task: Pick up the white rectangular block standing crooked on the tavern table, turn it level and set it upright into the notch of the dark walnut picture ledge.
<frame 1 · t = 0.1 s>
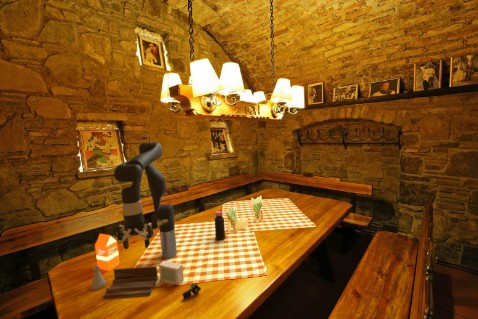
hand: (137, 247, 98), 29 cm above the table, fingers open, 8 cm apart
flask: (98, 286, 119), on the table
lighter: (192, 296, 109), on the table
bottle: (220, 238, 165), on the table
picture ledge: (132, 288, 116), on the table
orange juice: (109, 266, 137), on the table
white rectangular block: (172, 280, 121), on the table
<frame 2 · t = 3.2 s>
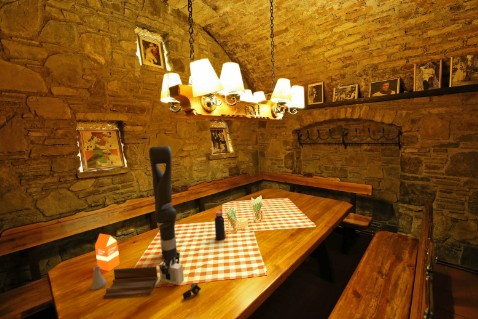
hand: (171, 276, 120), 2 cm above the table, fingers closed on white rectangular block, 4 cm apart
white rectangular block: (172, 280, 121), on the table, touching gripper
everything else where it was.
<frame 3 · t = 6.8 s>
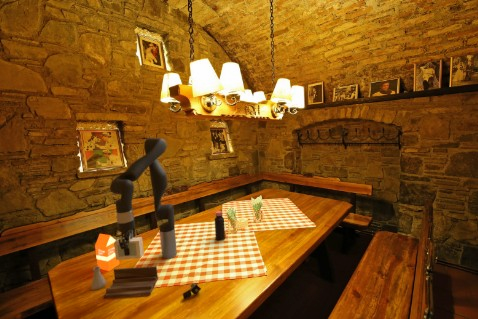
hand: (129, 252, 114), 19 cm above the table, fingers closed on white rectangular block, 4 cm apart
white rectangular block: (130, 256, 114), point 17 cm above the table, touching gripper
everything else where it was.
when the fingers open (5 cm above the table, at t = 10.0 s): white rectangular block stays where it is, resting on picture ledge.
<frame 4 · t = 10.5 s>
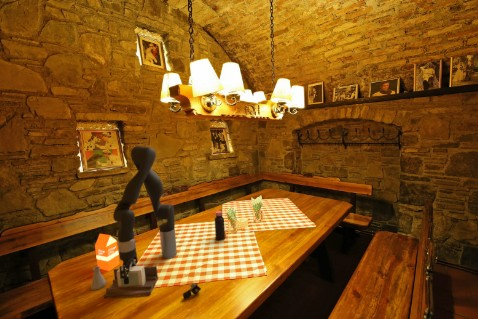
hand: (130, 278, 115), 6 cm above the table, fingers open, 8 cm apart
white rectangular block: (132, 285, 116), point 1 cm above the table, touching picture ledge
everything else where it was.
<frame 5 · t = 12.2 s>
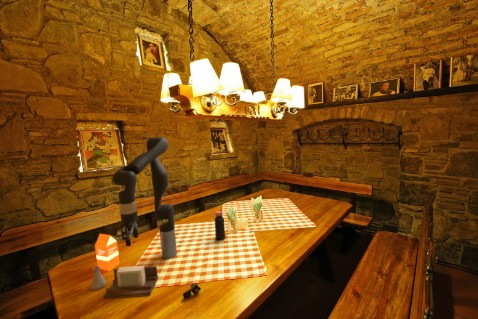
hand: (132, 241, 115), 24 cm above the table, fingers open, 8 cm apart
nothing on the table moved.
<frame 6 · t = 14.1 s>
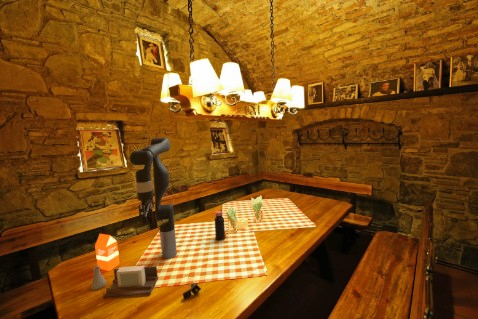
hand: (148, 220, 118), 33 cm above the table, fingers open, 8 cm apart
nothing on the table moved.
at the end: white rectangular block inside the target area on the picture ledge (0.2 cm from its centre), point 1.5 cm above the picture ledge's base; white rectangular block tilted 0°; the gripper is holding nothing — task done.
